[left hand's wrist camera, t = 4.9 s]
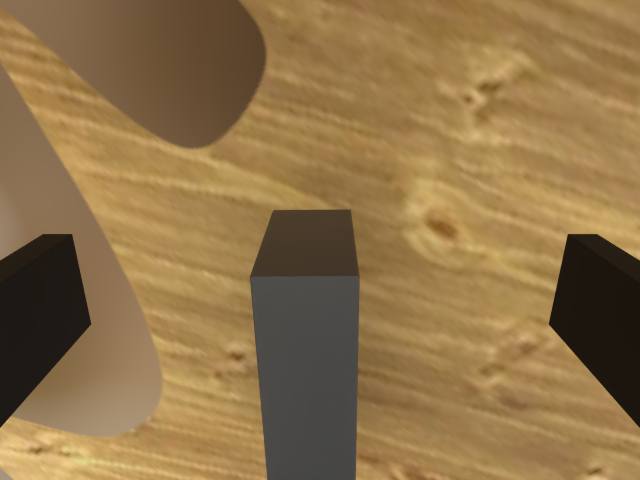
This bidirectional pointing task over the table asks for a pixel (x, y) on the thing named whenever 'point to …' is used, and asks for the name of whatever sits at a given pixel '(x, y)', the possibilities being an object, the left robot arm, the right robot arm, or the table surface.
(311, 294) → the bar
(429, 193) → the table surface
